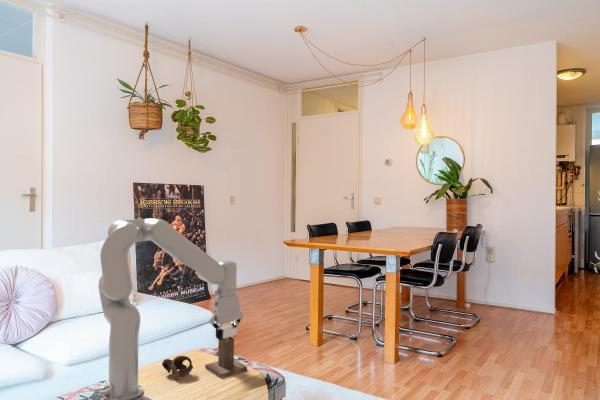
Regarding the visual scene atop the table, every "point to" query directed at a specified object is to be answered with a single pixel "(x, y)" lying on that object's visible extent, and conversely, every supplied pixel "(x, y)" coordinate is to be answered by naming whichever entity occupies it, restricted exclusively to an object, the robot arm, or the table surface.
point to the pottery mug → (178, 366)
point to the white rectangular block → (228, 331)
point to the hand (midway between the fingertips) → (226, 336)
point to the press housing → (226, 360)
